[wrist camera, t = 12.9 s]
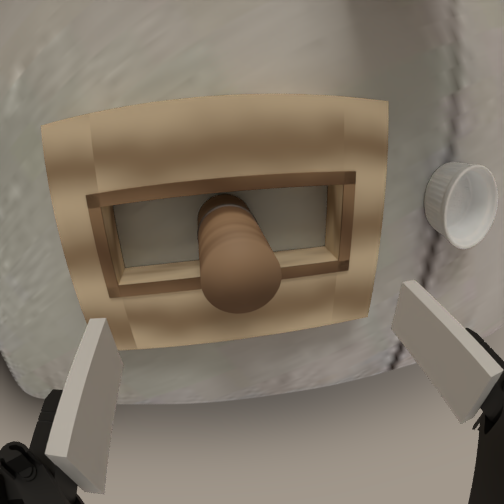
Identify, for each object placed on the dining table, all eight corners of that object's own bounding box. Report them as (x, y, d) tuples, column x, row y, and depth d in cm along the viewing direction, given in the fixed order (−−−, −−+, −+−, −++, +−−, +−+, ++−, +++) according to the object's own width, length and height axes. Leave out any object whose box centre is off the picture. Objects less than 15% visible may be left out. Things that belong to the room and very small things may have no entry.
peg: (194, 196, 25) (194, 246, 16) (250, 191, 25) (282, 236, 16) (199, 248, 27) (204, 318, 18) (252, 242, 27) (282, 308, 18)
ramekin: (406, 221, 29) (432, 237, 25) (436, 142, 26) (465, 150, 22) (454, 242, 32) (478, 257, 28) (480, 175, 29) (507, 185, 25)
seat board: (56, 123, 20) (39, 125, 17) (369, 101, 24) (389, 101, 21) (104, 331, 28) (97, 352, 25) (354, 300, 32) (368, 318, 29)
